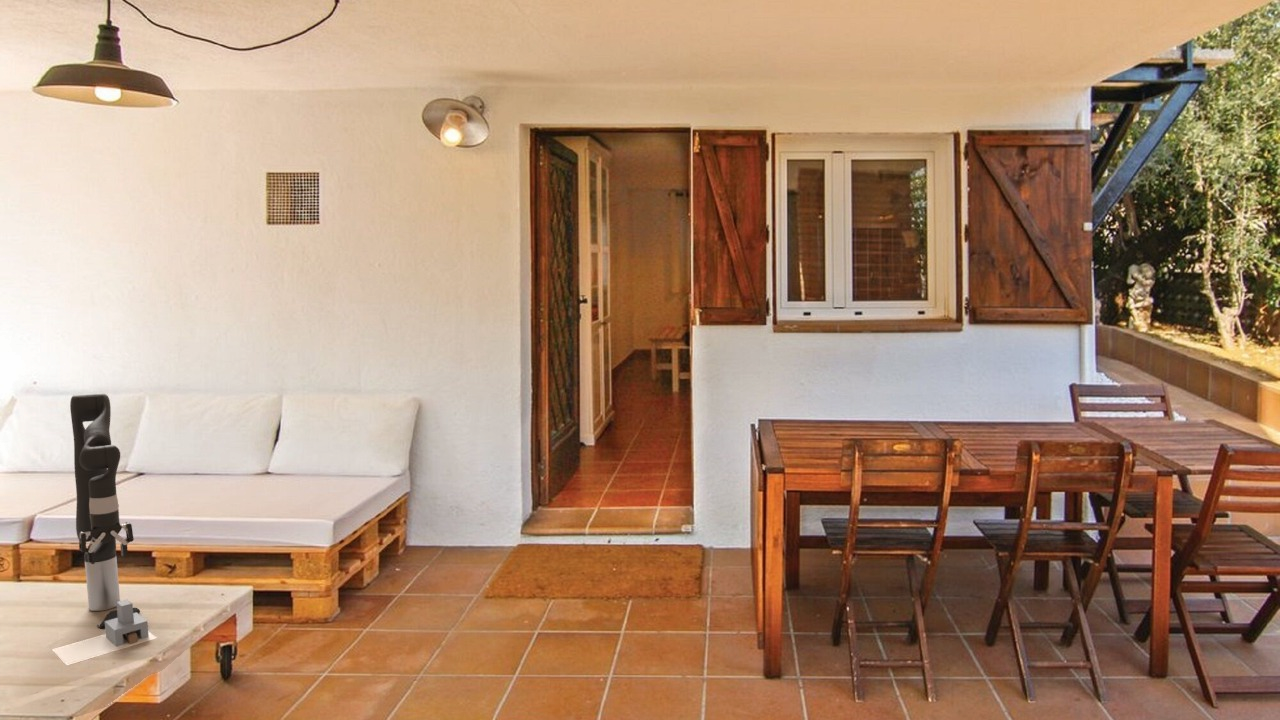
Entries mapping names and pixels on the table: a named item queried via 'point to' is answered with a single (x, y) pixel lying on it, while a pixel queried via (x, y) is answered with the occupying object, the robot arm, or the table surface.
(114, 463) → the robot arm
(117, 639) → the block
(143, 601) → the table surface
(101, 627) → the carrying case or bag
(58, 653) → the board
